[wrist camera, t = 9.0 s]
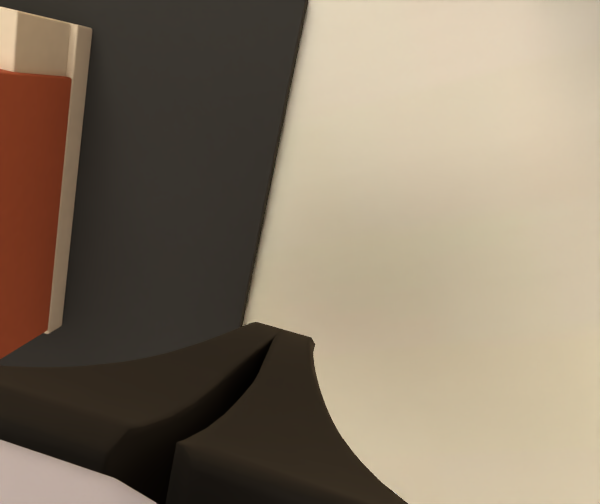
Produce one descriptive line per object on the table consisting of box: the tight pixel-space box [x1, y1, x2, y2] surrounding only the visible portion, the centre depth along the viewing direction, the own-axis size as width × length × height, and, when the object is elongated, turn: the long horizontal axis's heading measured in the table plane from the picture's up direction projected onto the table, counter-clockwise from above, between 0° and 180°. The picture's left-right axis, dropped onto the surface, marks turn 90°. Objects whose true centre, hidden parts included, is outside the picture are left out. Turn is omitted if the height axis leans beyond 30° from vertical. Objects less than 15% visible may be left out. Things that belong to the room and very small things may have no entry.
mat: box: [0, 0, 308, 367], centre depth 23 cm, size 18×16×1 cm
